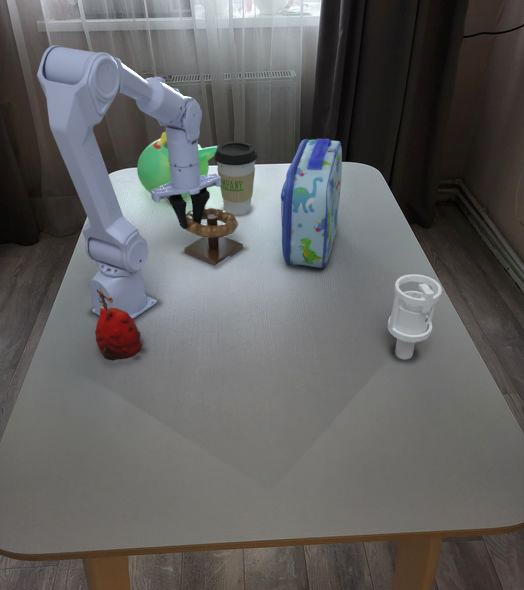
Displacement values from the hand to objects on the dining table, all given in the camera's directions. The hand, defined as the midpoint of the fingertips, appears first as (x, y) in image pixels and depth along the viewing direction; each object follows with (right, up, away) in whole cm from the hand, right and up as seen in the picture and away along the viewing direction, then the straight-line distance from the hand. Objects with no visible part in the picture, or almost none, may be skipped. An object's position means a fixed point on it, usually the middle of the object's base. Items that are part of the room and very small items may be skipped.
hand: (190, 225), depth 116 cm
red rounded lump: (-9, -27, -20) cm, 35 cm away
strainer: (+39, -27, -20) cm, 52 cm away
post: (+4, -4, +5) cm, 8 cm away
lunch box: (+26, -3, +7) cm, 27 cm away
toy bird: (-6, +13, +25) cm, 29 cm away
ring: (+4, +1, +2) cm, 5 cm away
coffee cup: (+9, +8, +19) cm, 23 cm away
